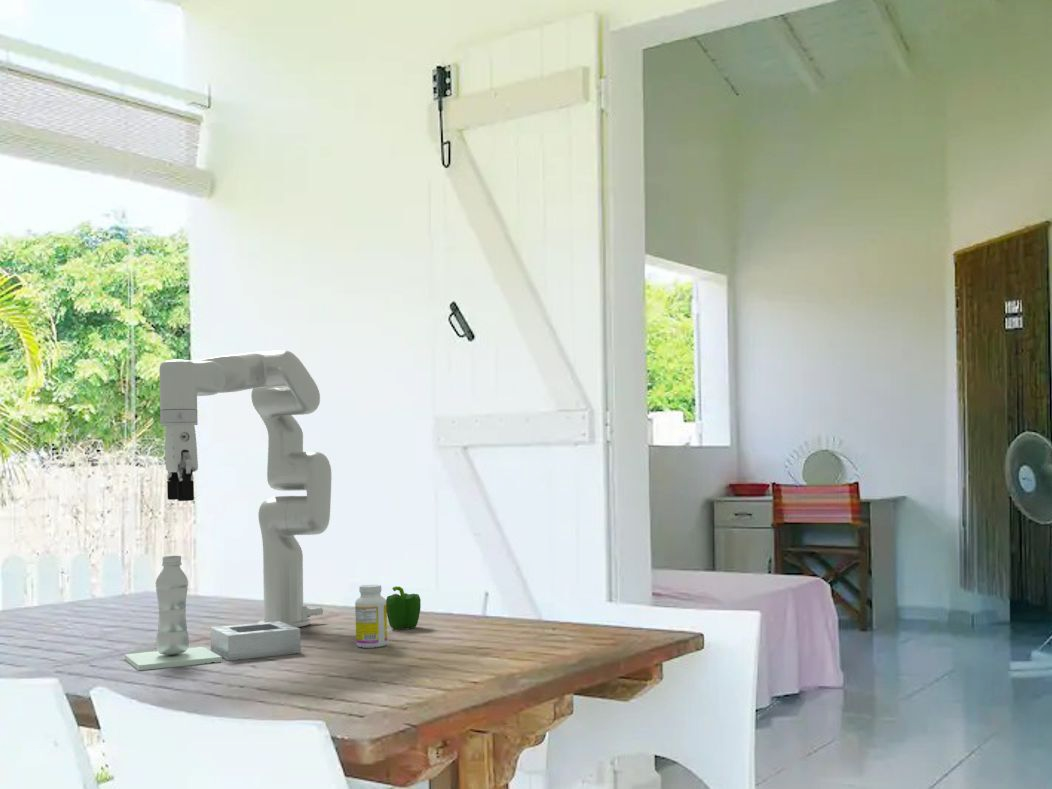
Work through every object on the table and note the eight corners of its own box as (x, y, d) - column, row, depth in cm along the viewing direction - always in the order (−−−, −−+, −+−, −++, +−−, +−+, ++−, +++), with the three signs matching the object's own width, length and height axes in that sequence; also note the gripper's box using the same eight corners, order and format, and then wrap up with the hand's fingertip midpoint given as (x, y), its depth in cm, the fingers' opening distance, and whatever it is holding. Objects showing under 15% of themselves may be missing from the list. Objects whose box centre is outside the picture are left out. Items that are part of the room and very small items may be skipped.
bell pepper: (416, 624, 277) (415, 583, 277) (424, 629, 269) (423, 586, 269) (382, 627, 274) (381, 585, 274) (389, 631, 266) (388, 588, 267)
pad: (203, 651, 244) (203, 646, 244) (221, 661, 230) (221, 656, 230) (124, 659, 236) (124, 654, 236) (138, 670, 222) (138, 665, 222)
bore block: (279, 644, 251) (279, 621, 252) (300, 653, 238) (300, 628, 239) (210, 651, 244) (210, 627, 244) (228, 660, 231) (228, 635, 231)
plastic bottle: (196, 652, 236) (195, 555, 237) (175, 658, 229) (174, 557, 231) (169, 651, 238) (169, 555, 239) (148, 657, 232) (148, 557, 233)
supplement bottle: (374, 642, 250) (373, 583, 251) (393, 645, 245) (392, 585, 246) (349, 646, 245) (348, 586, 246) (368, 649, 241) (367, 588, 241)
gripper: (206, 417, 236) (208, 500, 235) (187, 419, 251) (189, 498, 250) (169, 417, 232) (171, 502, 231) (152, 420, 247) (153, 499, 247)
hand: (180, 500), depth 241 cm, fingers open, 9 cm apart
